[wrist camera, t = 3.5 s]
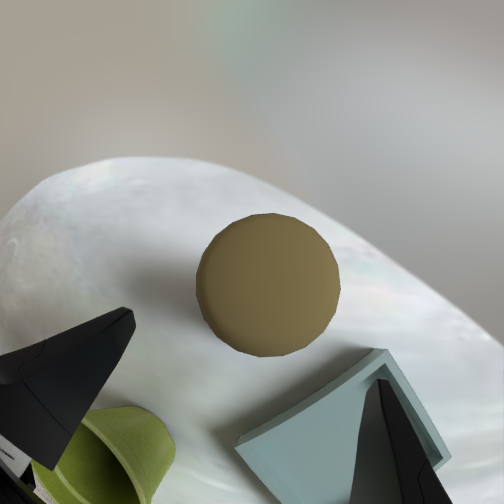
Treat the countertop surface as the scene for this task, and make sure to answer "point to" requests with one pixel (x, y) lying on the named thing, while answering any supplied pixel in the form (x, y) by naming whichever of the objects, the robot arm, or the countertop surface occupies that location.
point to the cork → (268, 285)
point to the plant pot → (111, 459)
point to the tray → (330, 436)
